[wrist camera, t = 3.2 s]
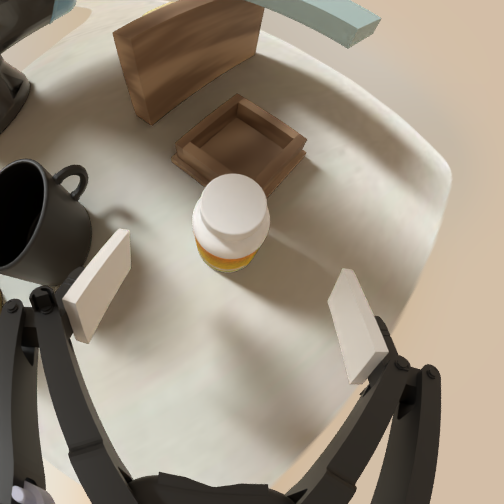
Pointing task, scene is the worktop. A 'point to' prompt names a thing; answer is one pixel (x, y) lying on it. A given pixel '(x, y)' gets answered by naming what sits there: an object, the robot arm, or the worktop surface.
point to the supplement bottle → (230, 222)
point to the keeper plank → (328, 17)
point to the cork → (0, 303)
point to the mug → (41, 223)
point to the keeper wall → (184, 50)
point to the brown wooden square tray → (240, 146)
